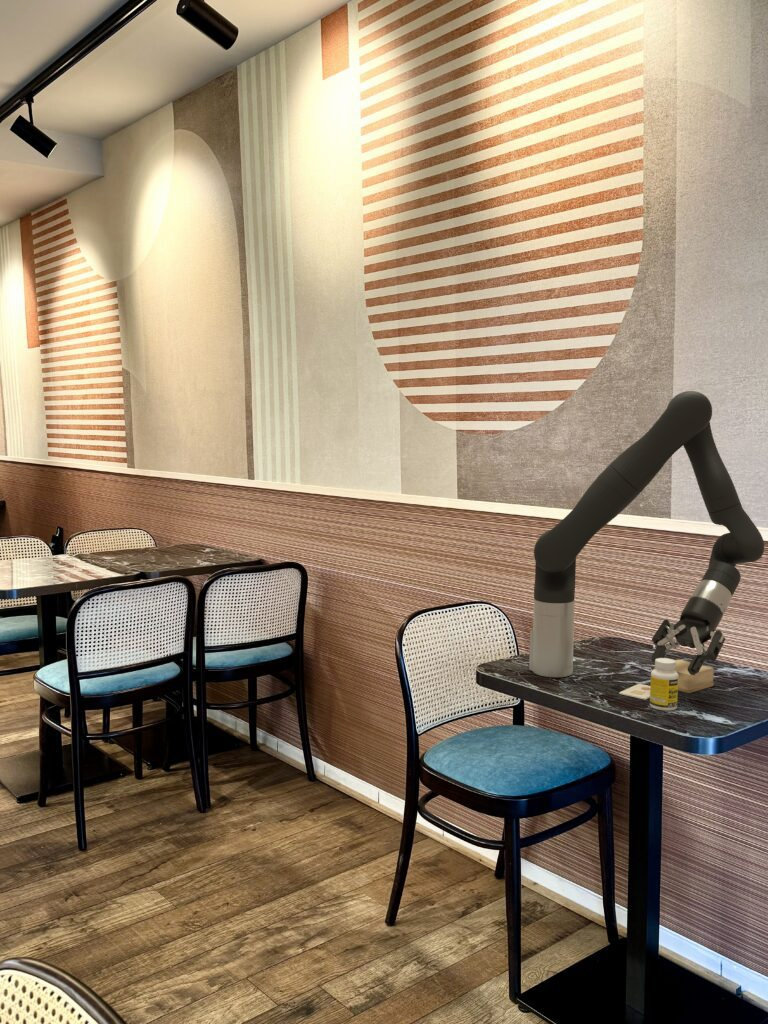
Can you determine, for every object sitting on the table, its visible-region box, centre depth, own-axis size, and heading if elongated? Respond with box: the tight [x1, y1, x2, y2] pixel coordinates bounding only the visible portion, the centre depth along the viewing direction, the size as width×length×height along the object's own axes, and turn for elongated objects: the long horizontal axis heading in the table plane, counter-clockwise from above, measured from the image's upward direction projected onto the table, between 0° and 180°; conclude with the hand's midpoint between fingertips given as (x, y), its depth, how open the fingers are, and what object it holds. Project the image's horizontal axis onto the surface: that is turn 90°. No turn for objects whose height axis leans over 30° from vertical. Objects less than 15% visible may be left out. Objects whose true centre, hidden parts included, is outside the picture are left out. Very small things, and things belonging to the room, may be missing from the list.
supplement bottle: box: [649, 657, 679, 712], centre depth 183 cm, size 5×5×10 cm
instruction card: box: [619, 683, 650, 701], centre depth 194 cm, size 6×9×1 cm, turn 137°
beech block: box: [653, 659, 715, 694], centre depth 200 cm, size 9×9×4 cm
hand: (672, 668), depth 185 cm, fingers open, 8 cm apart
